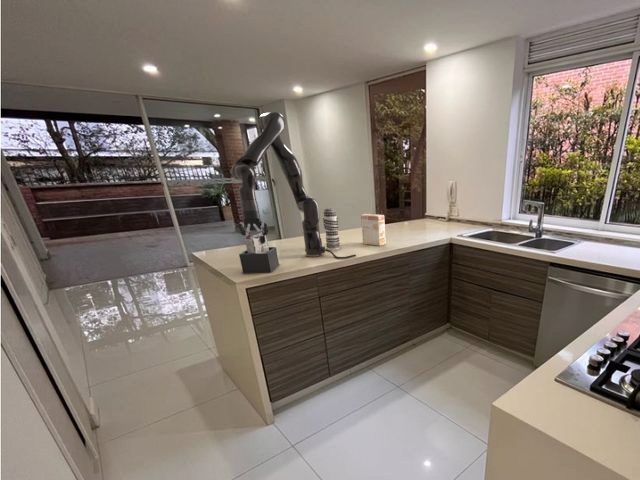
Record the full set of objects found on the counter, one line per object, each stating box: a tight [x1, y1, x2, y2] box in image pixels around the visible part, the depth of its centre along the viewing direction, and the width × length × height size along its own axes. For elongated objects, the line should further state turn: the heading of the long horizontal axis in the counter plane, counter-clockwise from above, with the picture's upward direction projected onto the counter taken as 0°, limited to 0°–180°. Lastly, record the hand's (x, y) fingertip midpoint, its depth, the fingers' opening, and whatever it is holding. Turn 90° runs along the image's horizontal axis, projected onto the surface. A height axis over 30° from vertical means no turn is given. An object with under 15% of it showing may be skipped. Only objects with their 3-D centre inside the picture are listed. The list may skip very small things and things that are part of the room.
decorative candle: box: [322, 207, 341, 251], centre depth 214 cm, size 9×9×25 cm
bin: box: [238, 246, 280, 274], centre depth 175 cm, size 14×15×10 cm
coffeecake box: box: [360, 213, 386, 247], centre depth 228 cm, size 15×7×20 cm, turn 58°
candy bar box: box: [244, 233, 270, 254], centre depth 173 cm, size 11×5×16 cm, turn 168°
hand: (257, 243), depth 171 cm, fingers closed on candy bar box, 5 cm apart
